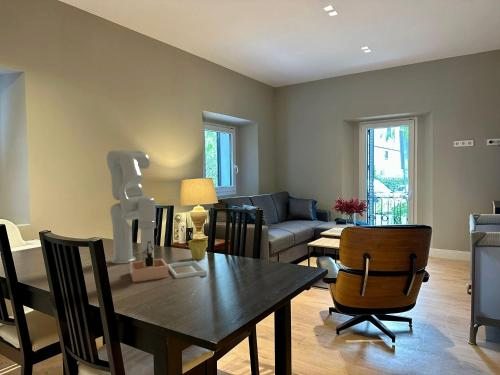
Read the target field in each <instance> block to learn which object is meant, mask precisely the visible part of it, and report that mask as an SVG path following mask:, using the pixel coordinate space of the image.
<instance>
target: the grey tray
mask: <svg viewBox="0 0 500 375" xmlns="http://www.w3.org/2000/svg"><path fill="white" fill-rule="evenodd" d="M166 264H167V265H168V271H170V273H171V274H172V276H173V277H174V278H175V279H182V278H189V277H195V276H198V277H199V278H203V277H204V278H205V277H207V273H208V272H207V269H205V268H204V267H203V266H202V265H200V263H198V261H197V260H190V261H183V262H174V263H166ZM184 266H188V267H189V268H190V269H191V270H192V272H191V271H190V272H185V273H177V272H176V270H175V269H174V268H176V267H184Z"/></svg>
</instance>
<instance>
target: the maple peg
mask: <svg viewBox="0 0 500 375" xmlns="http://www.w3.org/2000/svg"><path fill="white" fill-rule="evenodd" d="M141 251H142V250H141ZM147 251H148V249H147ZM141 253H142V255H141V256H142V261H143V269H144V268H151V267H154V259H155V249H154V250H153V251H152V255H153V266H148V267H146V263H145V258H146V250H145V251H142V252H141ZM147 253H148V252H147Z"/></svg>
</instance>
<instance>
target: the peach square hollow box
mask: <svg viewBox="0 0 500 375" xmlns="http://www.w3.org/2000/svg"><path fill="white" fill-rule="evenodd" d="M167 264H168V263H167V262H166V261H165V260H164V259H163V258H156V259H155V258H154V267H151V268H144V269H143V260H139V261H138V260H137V261H132V262H129V274H130V277H131V279H132V283H135V282H142V281H143V282H144V281H150V280H159V279H165V278H169V276H170V275H169V269H168V265H167Z"/></svg>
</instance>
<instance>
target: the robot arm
mask: <svg viewBox="0 0 500 375" xmlns="http://www.w3.org/2000/svg"><path fill="white" fill-rule="evenodd" d="M106 164H107V166H108V170H109V173H110V176H111V192H112V197H113V199H114V200H116V201H119V202H118V203H117V202H116V203H114V204H113V205H111V207H110V210H109V213H110V217H111V223H112V224H111V225H112V244H113V258H111V259H110V263H112V264H117V265H118V264H119V265H121V264H128V263H129V264H130V262H136V257H135V256H133V236H132V235H133V232H132V226H131V225H130V224H129V223H128V221H130V220H138V229H139V230H140V249H141V251H145V250H146V258H145V263H146V267H148V266H153V255H152V251H153V250H154V251H155V235H154V229H156V228H157V225H156V224H157V222H156V219H157V218H156V199H155V198H153V197H151V196H148V195H147V196H146V195H145V196H144V189H143V186H142V184H141V183H142V182H143V180H144V179H143V174H142V171H141V170H148V169H149V167H150V166H151V161H150V157H149V155H148V154H147V153H145V152H143V151H141V150H137V149H135V150H133V149H132V150H131V149H126V150H125V149H113V150H110V151H108V153H107V154H106ZM147 249H148V251H147ZM147 252H148V253H147Z"/></svg>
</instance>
